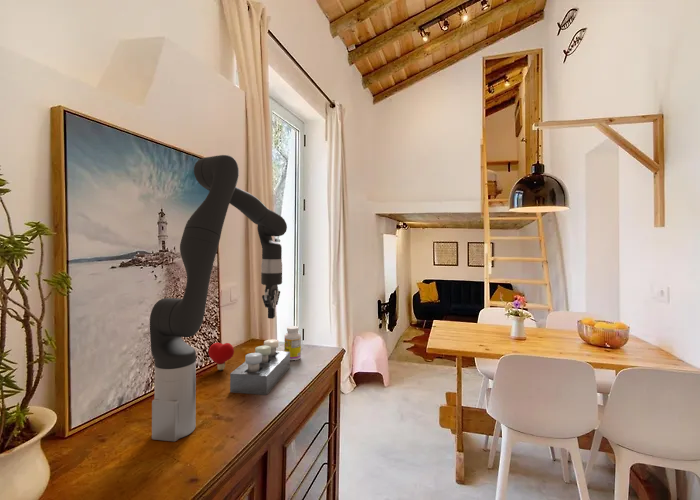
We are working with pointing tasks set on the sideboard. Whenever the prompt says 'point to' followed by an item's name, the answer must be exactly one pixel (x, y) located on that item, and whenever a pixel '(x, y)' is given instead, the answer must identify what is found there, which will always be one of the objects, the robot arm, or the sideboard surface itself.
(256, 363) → the cap near
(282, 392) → the sideboard surface
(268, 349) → the cap mid
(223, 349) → the red heart
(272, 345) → the cap far
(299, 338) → the supplement bottle
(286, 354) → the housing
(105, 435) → the sideboard surface
